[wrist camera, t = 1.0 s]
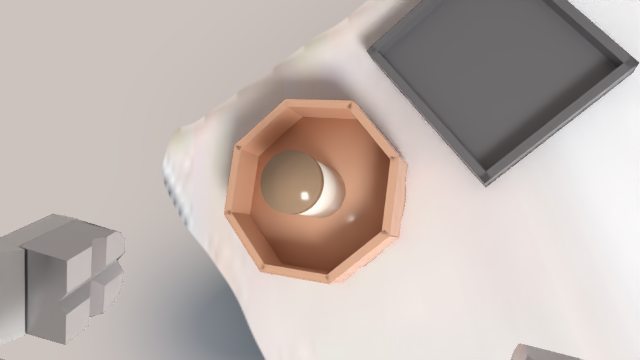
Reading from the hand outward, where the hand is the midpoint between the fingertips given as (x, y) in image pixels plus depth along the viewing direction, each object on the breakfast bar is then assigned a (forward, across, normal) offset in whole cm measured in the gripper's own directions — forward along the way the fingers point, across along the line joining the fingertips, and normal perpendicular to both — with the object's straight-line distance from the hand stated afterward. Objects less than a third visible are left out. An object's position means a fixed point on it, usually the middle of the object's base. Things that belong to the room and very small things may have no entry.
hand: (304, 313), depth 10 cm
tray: (+43, -8, -4) cm, 44 cm away
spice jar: (+39, +6, +11) cm, 41 cm away
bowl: (+40, +6, +12) cm, 42 cm away
